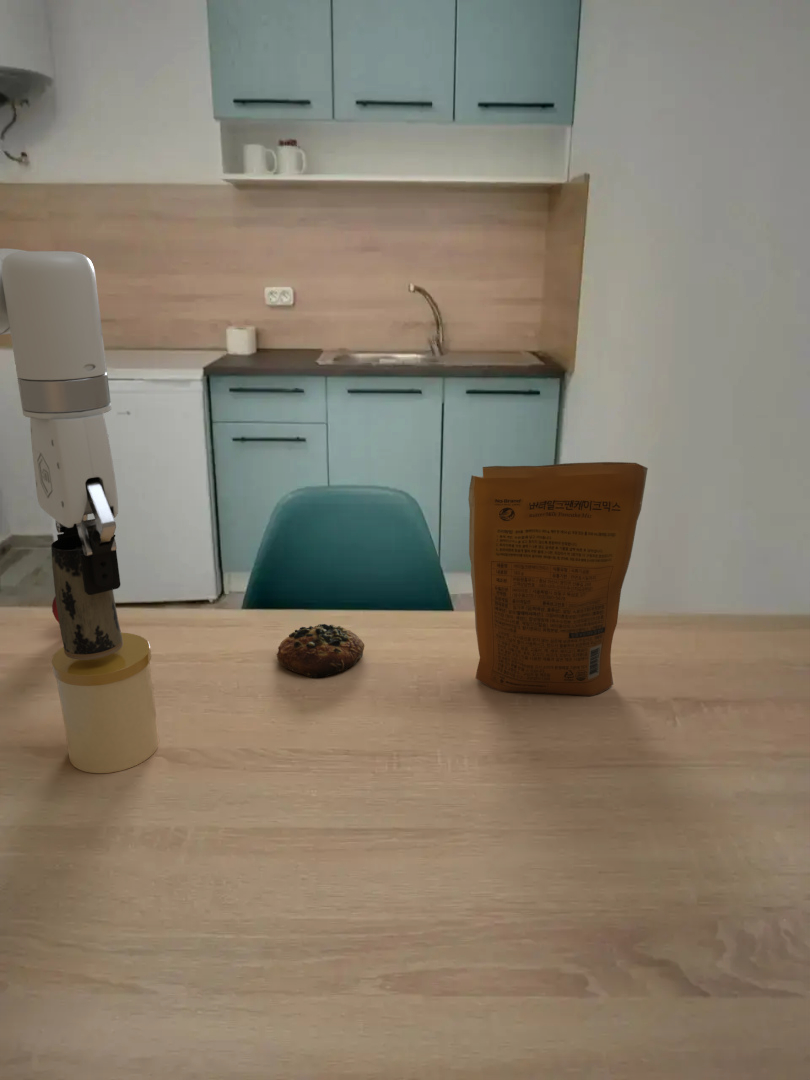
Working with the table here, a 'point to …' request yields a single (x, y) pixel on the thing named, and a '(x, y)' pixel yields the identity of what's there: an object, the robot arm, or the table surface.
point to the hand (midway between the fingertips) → (90, 578)
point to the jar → (108, 707)
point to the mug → (82, 606)
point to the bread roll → (320, 650)
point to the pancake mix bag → (551, 572)
